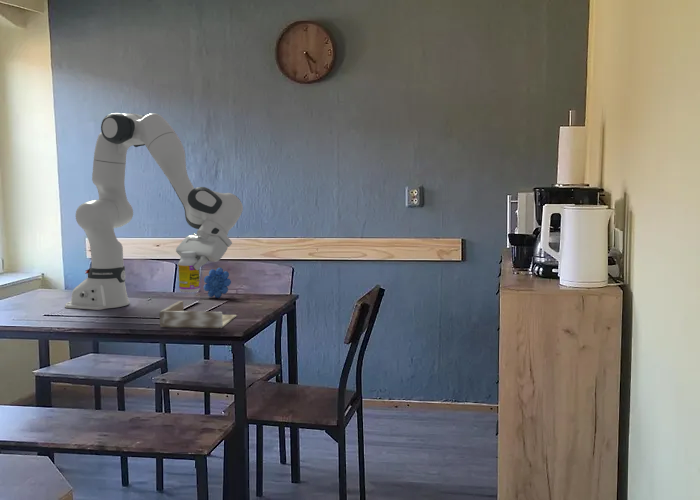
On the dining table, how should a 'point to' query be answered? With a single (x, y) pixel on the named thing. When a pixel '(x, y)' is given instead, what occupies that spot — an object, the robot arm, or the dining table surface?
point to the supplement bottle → (188, 273)
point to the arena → (192, 318)
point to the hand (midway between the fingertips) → (187, 267)
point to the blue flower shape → (217, 282)
